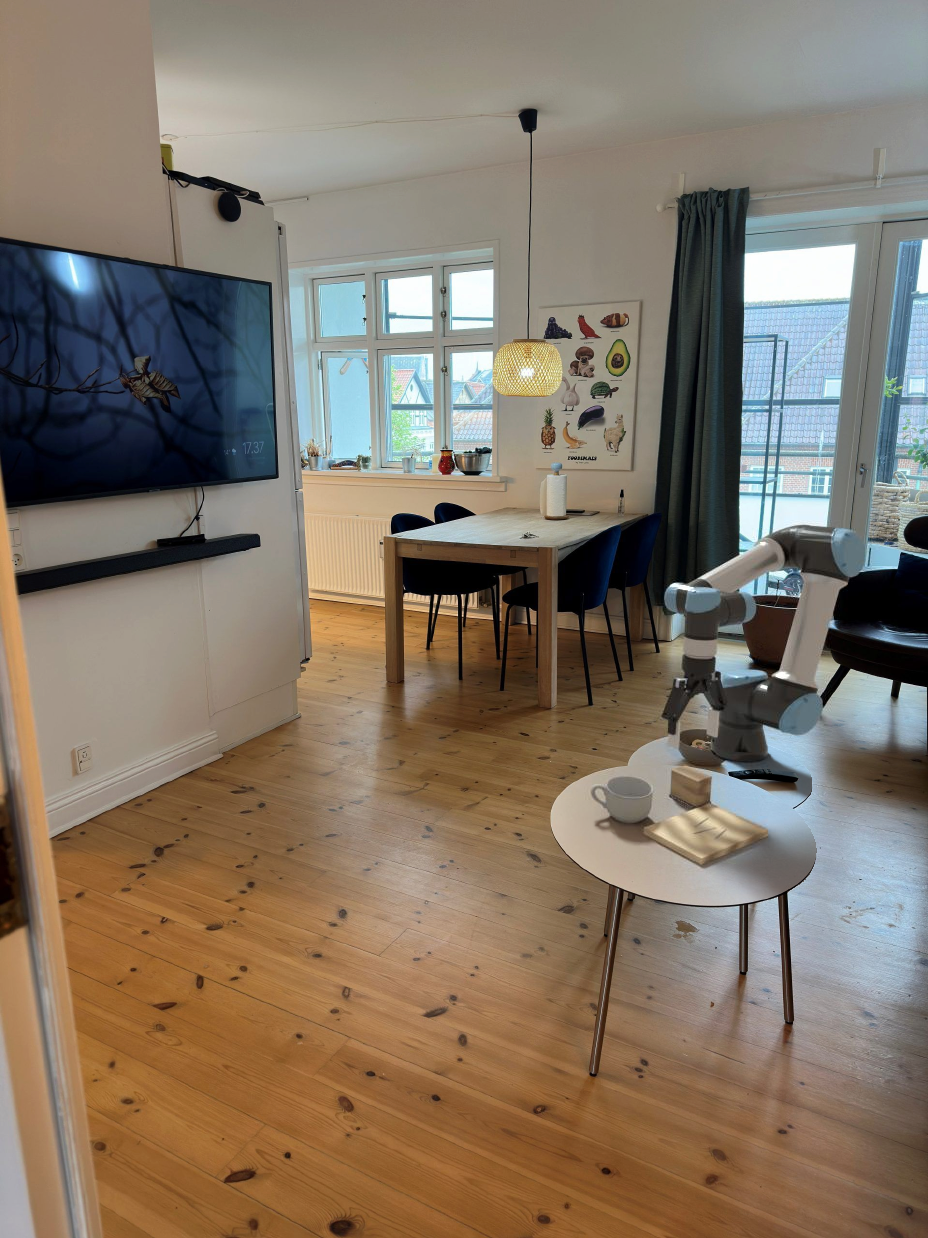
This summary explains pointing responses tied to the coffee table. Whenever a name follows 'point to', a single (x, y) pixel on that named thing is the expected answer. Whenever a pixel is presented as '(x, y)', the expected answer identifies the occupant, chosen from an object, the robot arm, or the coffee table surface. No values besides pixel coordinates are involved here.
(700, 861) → the pine board
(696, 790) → the brown wooden block
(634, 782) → the teacup
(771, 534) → the robot arm
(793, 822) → the coffee table surface
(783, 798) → the coffee table surface
